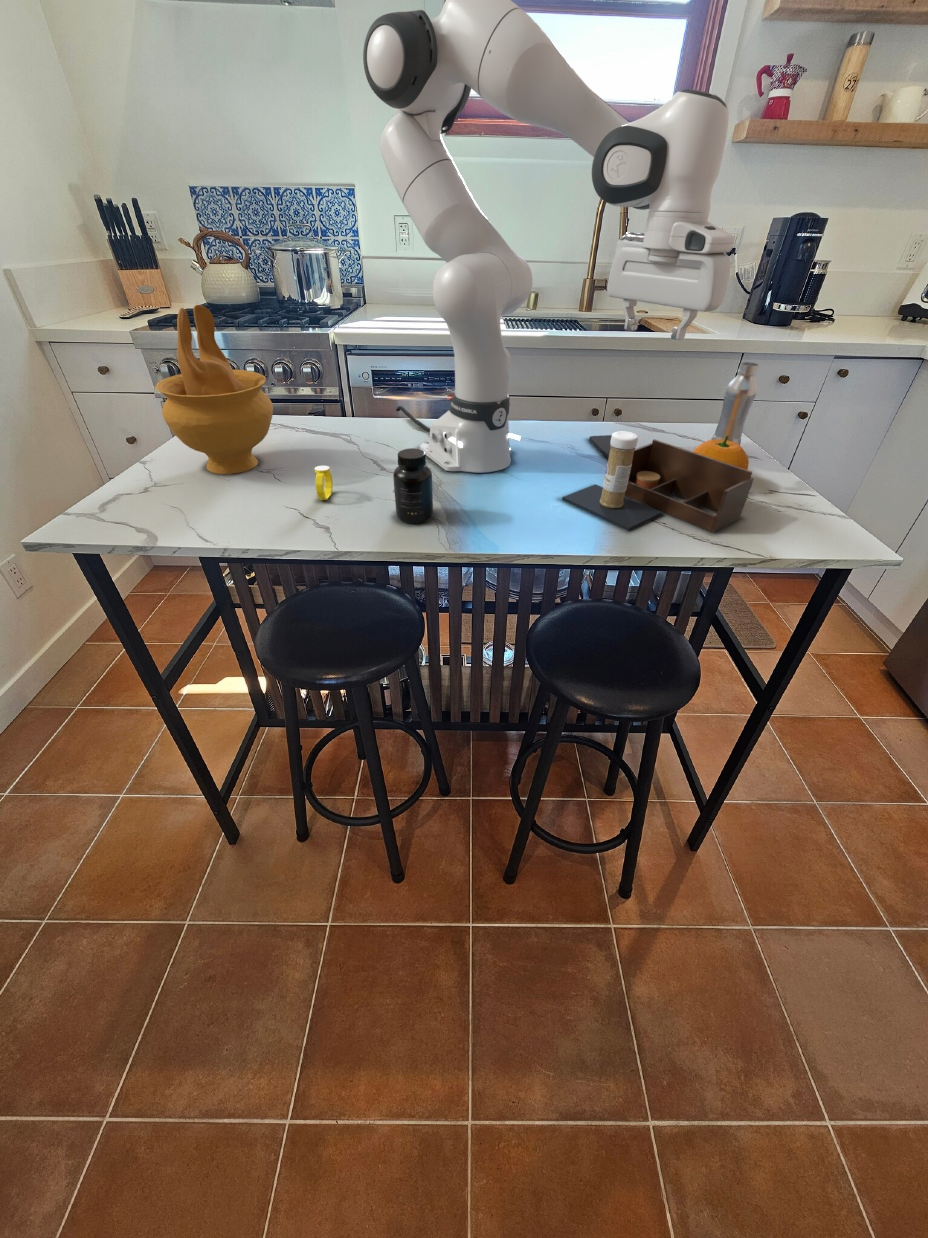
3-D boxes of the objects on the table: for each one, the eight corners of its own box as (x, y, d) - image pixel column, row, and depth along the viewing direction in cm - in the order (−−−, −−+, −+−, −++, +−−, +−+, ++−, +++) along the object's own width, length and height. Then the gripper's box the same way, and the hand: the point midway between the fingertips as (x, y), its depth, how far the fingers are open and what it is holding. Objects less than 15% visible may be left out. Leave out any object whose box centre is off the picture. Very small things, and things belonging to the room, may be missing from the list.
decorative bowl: (243, 490, 108) (201, 320, 90) (157, 475, 113) (101, 311, 95) (301, 454, 124) (276, 302, 106) (223, 441, 129) (186, 295, 111)
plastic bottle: (742, 457, 127) (773, 365, 115) (724, 463, 124) (754, 369, 112) (718, 449, 131) (745, 358, 119) (700, 454, 128) (726, 362, 116)
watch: (328, 504, 104) (324, 474, 101) (314, 503, 104) (309, 474, 101) (337, 491, 109) (333, 462, 105) (323, 490, 109) (319, 461, 105)
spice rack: (615, 491, 111) (623, 448, 106) (642, 480, 116) (651, 438, 110) (713, 533, 98) (729, 485, 92) (739, 518, 103) (756, 472, 97)
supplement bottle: (398, 507, 104) (394, 444, 96) (434, 508, 104) (433, 446, 96) (393, 524, 98) (389, 459, 91) (431, 525, 98) (430, 461, 91)
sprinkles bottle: (596, 499, 107) (608, 430, 98) (619, 498, 107) (633, 429, 99) (603, 510, 103) (616, 439, 95) (626, 509, 103) (642, 438, 95)
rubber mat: (562, 499, 108) (562, 496, 107) (594, 486, 113) (595, 484, 112) (628, 530, 98) (629, 527, 98) (661, 515, 103) (662, 512, 103)
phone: (616, 434, 136) (642, 456, 124) (615, 438, 136) (641, 460, 124) (587, 435, 134) (611, 458, 123) (587, 439, 135) (610, 461, 123)
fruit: (692, 468, 122) (705, 422, 115) (747, 481, 116) (764, 434, 110) (674, 485, 114) (687, 437, 108) (733, 500, 109) (750, 451, 103)
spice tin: (628, 491, 111) (631, 474, 109) (641, 485, 114) (645, 468, 111) (647, 499, 109) (651, 482, 106) (660, 493, 111) (665, 476, 109)
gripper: (607, 231, 89) (593, 326, 98) (722, 239, 77) (695, 347, 85) (631, 231, 92) (615, 322, 101) (745, 238, 80) (717, 342, 88)
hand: (653, 334), depth 93 cm, fingers open, 8 cm apart
